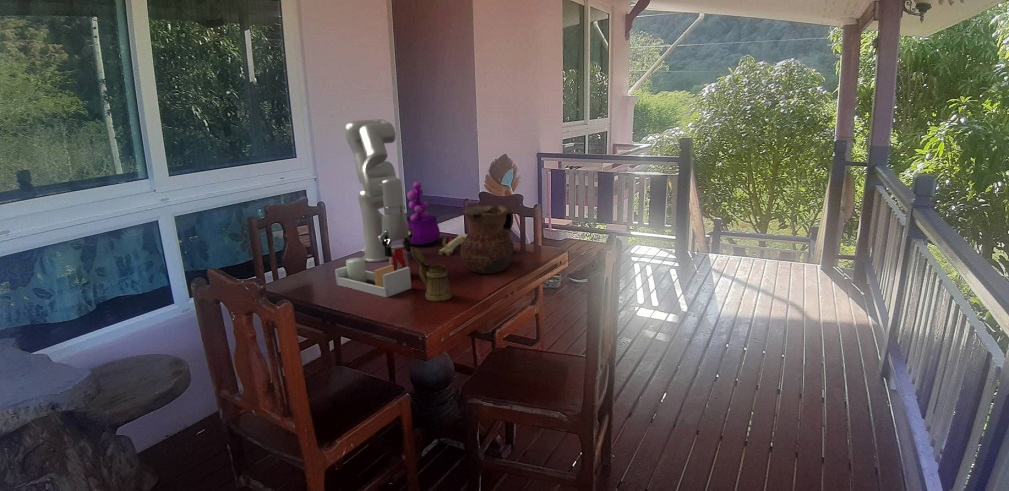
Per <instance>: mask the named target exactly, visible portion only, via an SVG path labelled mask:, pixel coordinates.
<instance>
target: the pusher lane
mask: <svg viewBox="0 0 1009 491" xmlns="http://www.w3.org/2000/svg"><path fill="white" fill-rule="evenodd" d="M334 272H335V273H334V274H335V282H336V286H340V287H344V288H347V287H348V288H349V289H351V288H352V290H355V291H361V292H364V293H369V294H371V295H374V296H380V297H384V298H388V297H391V296H394V295H396V294H399V293H402V292H405V291H407V290H410V289H412V282H411V268H410V267H409V266H408V267H406V268H403V269H400V270H397V271H394V272H391V273H388V274H385V275H383V286H384V287H380V286H375V285H374V284H371V283H368V282H367V283H363V282H359V281H355V280H350V279H348V276H347V267H346V266H341V267H339V268H335V269H334ZM366 276H367V280H369V281H374V282H375V275H374V271H371V270H370V271H369V270H366Z"/></svg>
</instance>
